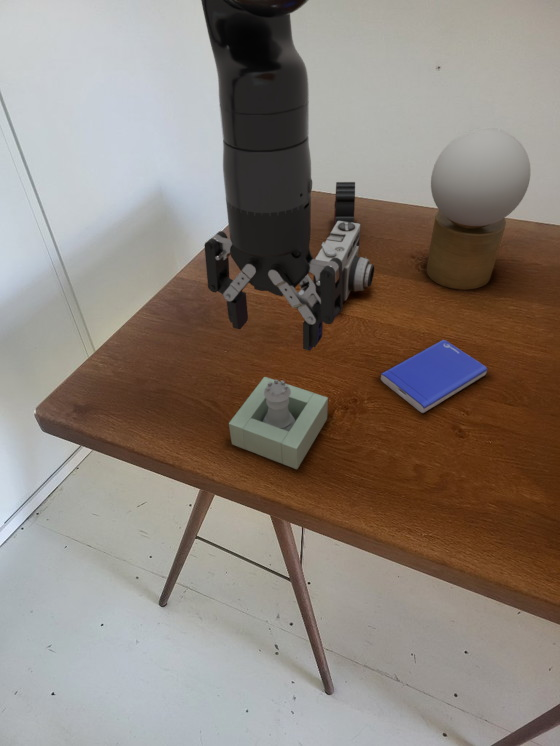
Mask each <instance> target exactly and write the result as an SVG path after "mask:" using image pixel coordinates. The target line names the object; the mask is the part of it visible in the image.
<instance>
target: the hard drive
mask: <svg viewBox="0 0 560 746" xmlns="http://www.w3.org/2000/svg"><path fill="white" fill-rule="evenodd" d="M487 373H488V368H487V367H486V365H484V364H482V363H481V362H480V361H478V360H476V358H474V357H472V356H470V355H469V354H467V353H466V352H464V351H462V350H461V349H459V348H458V347H457V346H455V345H454V344H452V343H450V342H449V341H448V340H445V339H442V340H440V341H438V342H436V343H435V344H433V345H431V346H429V347H427V348H425V349H424V350H422V351H421V352H418V353H416V354H414V355H413V356H411V357H409V358H407V359H406V360H403V361H402V362H400V363H398V364H396V365H395V366H393V367H391V368H389V369H388V370H386V371H384V372H381V373H380V381H381V382H382V383H383V384H384V385H386V387H388V388H389V389H391V391H393V392H394V393H396V394H397V395H398V396H400V398H402V399H403V400H404V401H406V402H407V403H408V404H410V405H411V406H412V407H413V408H415V409H416V411H418V412H420V413H421V414H424V413H426V412H427V411H429V410H431V409H432V408H434V407H436V406H438V405H439V404H441V403H442V402H444V401H445V400H447V399H449V398H450V397H452V396H453V395H456V394H457V393H458V392H460V391H462V390H463V389H466V388H467V387H468V386H470V385H471V384H473V383H475V382H476V381H478V380H480V379H481V378H483V377H485V376H486V375H487Z"/></svg>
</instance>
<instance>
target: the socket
mask: <svg viewBox="0 0 560 746" xmlns="http://www.w3.org/2000/svg"><path fill="white" fill-rule="evenodd" d="M274 380H275V379H273V378H270V377H267V376H264V377H263V378H261V380H260V381H259V383H258V384H257V386H256V387H255V388H254V389H253V391H252V392H251V393H250V395H249V396H248V397H247V399H246V400H245V401H244V402H243V404H242V405H241V406H240V408H239V409H238V411H237V412H236V413H235V415H233V417H232V418H231V419H230V421H228V428H229V434H230V441H231V445H233V446H235V447H237V448H240V449H242V450H246V451H248V452H250V453H253V454H255V455H258V456H260V457H264V458H265V459H268V460H271V461H274V462H276V463H279V464H281V465H284V466H286V467H289V468H291V469H294V470H298V469H299V467H300V466H301V464H302V463H303V461H304V459H305V457H306V456H307V454H308V453H309V450H310V449H311V447H312V446H313V444H314V442H315V440H316V438H317V437H318V435H319V433H320V432H321V430H322V428H323V427H324V425H325V423H326V422H327V420H328V412H329V411H328V408H329V407H328V406H329V397H327V396H325V395H322V394H318V393H315V392H313V391H311V390H310V391H309V390H306V389H303V388H301V387H298V386H294V385H291V384H289V383H285V385H286V384H287V386H288V387H289V388H290V391H291V394H290V396H289V404H288V409H289V412H290V413H291V414H292V416H293V417H294V419H295V423H294V425H293V426H292V428H291V429H290V431H289V432H288V431H286V430H283V429H280V428H277V427H275V426H272V425H269V424H266V423H264V422H263V420H264V417H265V416H266V414H267V413H268V405H267V404H266V400H267V399H266V398H265V396H264V390H265V388H266V386H268V383H269V382H270V381H271V382H272V383H274ZM278 382H280V383H281V381H279V380H278Z"/></svg>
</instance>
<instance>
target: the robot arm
mask: <svg viewBox="0 0 560 746" xmlns="http://www.w3.org/2000/svg"><path fill="white" fill-rule="evenodd" d="M200 1H201V7H202V11H203V16H204V20H205V27H206V30H207V35H208V38H209V43H210V47H211V52H212V55H213V59H214V63H215V68H216V69H215V70H216V74H217V83H218V84H217V86H218V104H219V105H218V106H219V115H220V124H221V135H222V173H223V174H222V175H223V183H224V184H223V185H224V193H225V205H226V212H227V222H228V231H229V238H228V235H227V233H226V232H224V231H222V230H220V231H218V232H217V233H216V234H214V235H213V236H212V237H211V238H209V239H208V240H207V241H206V242H205V243H204V245H203V246H204V256H205V257H204V258H205V267H206V268H205V269H206V279H207V288H208V289H209V291H210V292H212V293H217V292H219V293H220V294H221V295H222V297H223V299H224V300H225V301H226V309H227V316H228V317H227V318H228V320H229V322H230V323H232V328H233V329H236V330H241V329H242V328H243V327H244V326H245V324H246V323H247V322H248V320H249V314H248V313H249V312H248V303H247V301H248V300H247V293H246V292H245V291H243V290H244V289H245V288H246V287H248V285H249V284H250V285H251V286H253V288H254V290H257V291H260V292H269V293H271V294H273V295H274V296H279V297H284V298H285V300H286V301H287V303H289V305H290V306H291V308H292V309H297V311H298V313H299V314H300V315H301V316H302V318H303V319H304V320H303V322H302V349H303V350H305V351H309V352H311V350H313V348H316V346H317V345H318V344H319V342H320V341H321V340H322V338H323V329H324V328H323V327H324V326H323V325H324V324H326V325H331V324H333V322H334V321H335V319H336V317H337V316H338V315H339V313H341V311H342V310H343V304H342V262H341V260H340V259H339V258H336V257H334V258H332V259H331V260H330V261H329V262H327V261H321V260H315V259H316V258H314V256H313V254H312V253H311V250H310V244H311V233H312V232H311V231H312V229H311V227H312V226H311V219H312V217H311V214H312V211H311V209H312V190H313V179H312V158H311V150H310V142H309V140H310V139H309V130H310V127H309V126H310V125H309V122H310V118H309V117H310V111H309V110H310V87H309V75H308V69H307V65H306V63H305V61H304V60H303V58H302V56H301V55H300V53H299V52H298V50H297V49H296V46H295V44H294V40H293V31H292V22H291V21H292V20H291V14H292V13H295V12H296V11H298V10H299V9H301V8H302V7H303V6H304V5H305V4H306V3H308V1H309V0H200ZM229 257H231V258H232V260H233V262H234V263H235V264H236V266H237V267H238V269H239V270H240V272H239V273H238V274H237V275H236V276H235V278H234V279H232V278H230V262H229V260H230V259H229ZM309 273H311V274H312V275H313V276H315V278H316V281H317V282H316V284H317V285H318V286H320V291H321V299H320V297H319V296H318V294H317V293H316V286H315V284H314V283H313V280H312V278H311V276H310V275H309ZM298 285H299V286H300V290H299V291H297V289H296V287H297V286H298ZM323 323H324V324H323Z"/></svg>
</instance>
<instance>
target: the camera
mask: <svg viewBox="0 0 560 746" xmlns="http://www.w3.org/2000/svg"><path fill="white" fill-rule="evenodd" d="M329 233H330V235H329V236H328V237H327V238H326V240H325V241H323V242H322V244H321V245H320V250H319V252H318V254H317V255H316V256H315V258H314V259H315V260H321V261H327V262H329V261H330V260H331V259H332V258H334V257H336V258H339V259H340V260H341V262H342V305H343V304H344V302H345V301H347V299H348V297H349V295H350V293H351V291H354V293H357V292H363V291H364V290H365V289H366V288H371V286H372V284H373V279H374V275H375V265H374V264H372V263H371V261H370V259H368V258H367V256H364V257H362V256H359V251H360V238H361V237H360V236H361V223H358V222H354V223H351V222H343V221H337V223H336V225H335V226H334V225H333V228H332V230H331V232H329ZM312 277H313V278H312V279H313V280H312V281H313V283H314V284H315V286H316V293H317V294H318V296H319V297H320V299H321V291H320V286H318V285H317V284H316V282H317V281H316V278H315V276H314V275H313V276H312Z"/></svg>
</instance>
